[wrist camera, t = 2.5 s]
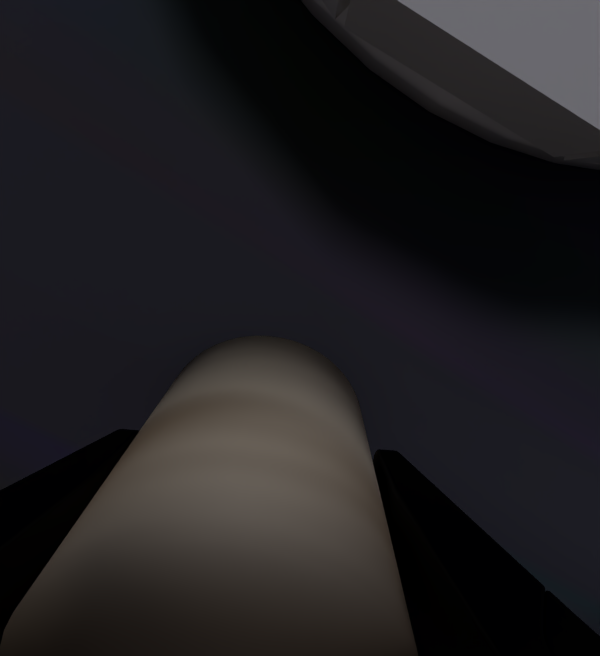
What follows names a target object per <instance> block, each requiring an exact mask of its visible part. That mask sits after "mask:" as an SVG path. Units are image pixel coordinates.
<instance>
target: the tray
mask: <svg viewBox="0 0 600 656" xmlns="http://www.w3.org/2000/svg"><path fill="white" fill-rule="evenodd" d="M301 1H302V3H303V4H304V5H305V6H306V8H307V9H308V10H309V11H310V13H311V14H312V15H313V16H314V17H315V18H316V19H317V20H318V21H319V22H320V23H321V24H322V25H324V26H325V27H326V28H327V29H328V30H329V31H330V32H331V33H332V34H333V35H334V36H335V37H336V38H337V39H338V40H339V41H340V42H341V43H342V44H343V45H344V46H346V47H347V48H348V49H349V50H350V51H351V52H352V53H353V54H354V55H355V56H356V57H357V58H358V59H359V60H360V61H361V62H362V63H363V64H364V65H365V66H366V67H368V68H369V69H370V70H371V71H373V72H374V73H375V74H377V75H378V76H380V77H381V78H382V79H384V80H385V81H387V82H388V83H389V84H391V85H392V86H394V87H395V88H396V89H398V90H399V91H401V92H402V93H403V94H405V95H406V96H408V97H409V98H410V99H412V100H413V101H415V102H416V103H418V104H419V105H420V106H422V107H423V108H425V109H426V110H427V111H429V112H431V113H433V114H435V115H437V116H439V117H441V118H443V119H445V120H447V121H449V122H451V123H453V124H455V125H457V126H459V127H461V128H463V129H465V130H467V131H469V132H471V133H473V134H475V135H477V136H479V137H481V138H482V139H484V140H486V141H488V142H491V143H494V144H497V145H500V146H503V147H506V148H509V149H512V150H515V151H519V152H522V153H525V154H528V155H531V156H534V157H537V158H540V159H543V160H547V161H550V162H553V163H558V164H564V165H570V166H576V167H583V168H589V169H595V170H600V0H301Z"/></svg>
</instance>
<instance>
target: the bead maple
mask: <svg viewBox="0 0 600 656" xmlns="http://www.w3.org/2000/svg"><path fill="white" fill-rule="evenodd" d="M0 656H418V651H417V647H416V643H415V639H414V635H413V630H412V626H411V622H410V618H409V613H408V609H407V605H406V601H405V597H404V592H403V588H402V584H401V580H400V575H399V571H398V567H397V563H396V558H395V554H394V550H393V546H392V542H391V537H390V533H389V529H388V525H387V520H386V516H385V512H384V508H383V503H382V499H381V495H380V491H379V487H378V482H377V478H376V474H375V470H374V465H373V461H372V457H371V453H370V449H369V444H368V440H367V436H366V432H365V427H364V423H363V419H362V415H361V410H360V406H359V402H358V399H357V397H356V394H355V392H354V390H353V388H352V386H351V385H350V383H349V381H348V380H347V378H346V377H345V376H344V374H343V373H342V372H341V371H340V370H339V369H338V368H337V367H336V366H335V365H334V364H333V363H332V362H331V361H330V360H328V359H327V358H326V357H324V356H323V355H322V354H320V353H319V352H317V351H315V350H313V349H312V348H310V347H308V346H305V345H303V344H300V343H298V342H295V341H291V340H288V339H284V338H278V337H271V336H248V337H240V338H236V339H231V340H227V341H225V342H222V343H219V344H217V345H214V346H212V347H211V348H209V349H207V350H205V351H203V352H202V353H200V354H199V355H198V356H196V357H195V358H194V359H193V360H192V361H191V362H189V363H188V364H187V365H186V366H185V367H184V369H183V370H182V371H181V373H180V374H179V375H178V377H177V378H176V379H175V381H174V382H173V384H172V385H171V387H170V388H169V389H168V391H167V392H166V394H165V395H164V397H163V398H162V400H161V401H160V402H159V404H158V405H157V407H156V408H155V410H154V411H153V412H152V414H151V415H150V417H149V418H148V420H147V421H146V422H145V424H144V425H143V427H142V428H141V430H140V431H139V433H138V434H137V435H136V437H135V438H134V440H133V441H132V443H131V444H130V445H129V447H128V448H127V450H126V451H125V453H124V454H123V455H122V457H121V458H120V460H119V461H118V463H117V464H116V466H115V467H114V468H113V470H112V471H111V473H110V474H109V476H108V477H107V478H106V480H105V481H104V483H103V484H102V486H101V487H100V488H99V490H98V491H97V493H96V494H95V496H94V497H93V499H92V500H91V501H90V503H89V504H88V506H87V507H86V509H85V510H84V511H83V513H82V514H81V516H80V517H79V519H78V520H77V521H76V523H75V524H74V526H73V527H72V529H71V530H70V532H69V533H68V534H67V536H66V537H65V539H64V540H63V542H62V543H61V544H60V546H59V547H58V549H57V550H56V552H55V553H54V554H53V556H52V557H51V559H50V560H49V562H48V563H47V564H46V566H45V567H44V569H43V570H42V572H41V573H40V575H39V576H38V577H37V579H36V580H35V582H34V583H33V585H32V586H31V587H30V589H29V590H28V592H27V593H26V595H25V596H24V597H23V599H22V600H21V602H20V603H19V605H18V606H17V608H16V609H15V610H14V612H13V614H12V616H11V618H10V619H9V621H8V623H7V625H6V627H5V629H4V633H3V637H2V640H1V644H0Z"/></svg>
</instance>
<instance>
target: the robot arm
mask: <svg viewBox="0 0 600 656" xmlns="http://www.w3.org/2000/svg"><path fill="white" fill-rule="evenodd" d="M138 433H139V431H138V430H127V429H119V430H117V431H115V432H113V433H111V434H109V435H107V436H105V437H103V438H101V439H99V440H97V441H95V442H93V443H91V444H89V445H87V446H85V447H84V448H82V449H80V450H78V451H76V452H74V453H72V454H70V455H68V456H66V457H64V458H62V459H60V460H58V461H56V462H54V463H53V464H51V465H49V466H47V467H45V468H43V469H41V470H39V471H37V472H35V473H33V474H31V475H29V476H27V477H25V478H23V479H21V480H20V481H18V482H16V483H14V484H12V485H10V486H8V487H6V488H4V489H2V490H0V644H1V640H2V637H3V633H4V629H5V627H6V625H7V623H8V621H9V619H10V618H11V616H12V614H13V612H14V610H15V609H16V608H17V606H18V605H19V603H20V602H21V600H22V599H23V597H24V596H25V595H26V593H27V592H28V590H29V589H30V587H31V586H32V585H33V583H34V582H35V580H36V579H37V577H38V576H39V575H40V573H41V572H42V570H43V569H44V567H45V566H46V564H47V563H48V562H49V560H50V559H51V557H52V556H53V554H54V553H55V552H56V550H57V549H58V547H59V546H60V544H61V543H62V542H63V540H64V539H65V537H66V536H67V534H68V533H69V532H70V530H71V529H72V527H73V526H74V524H75V523H76V521H77V520H78V519H79V517H80V516H81V514H82V513H83V511H84V510H85V509H86V507H87V506H88V504H89V503H90V501H91V500H92V499H93V497H94V496H95V494H96V493H97V491H98V490H99V488H100V487H101V486H102V484H103V483H104V481H105V480H106V478H107V477H108V476H109V474H110V473H111V471H112V470H113V468H114V467H115V466H116V464H117V463H118V461H119V460H120V458H121V457H122V455H123V454H124V453H125V451H126V450H127V448H128V447H129V445H130V444H131V443H132V441H133V440H134V438H135V437H136V435H137V434H138ZM373 465H374V470H375V474H376V478H377V482H378V487H379V491H380V495H381V499H382V503H383V508H384V512H385V516H386V520H387V525H388V529H389V533H390V537H391V542H392V546H393V550H394V554H395V558H396V563H397V567H398V571H399V575H400V580H401V584H402V588H403V592H404V597H405V601H406V605H407V609H408V613H409V618H410V622H411V626H412V630H413V635H414V639H415V643H416V647H417V651H418V656H600V636H599V635H598V634H597V633H595V632H594V631H593V630H592V629H591V628H590V627H589V626H588V625H586V624H585V623H584V622H583V621H582V620H581V619H580V618H579V617H577V616H576V615H575V614H574V613H573V612H572V611H571V610H570V609H569V608H568V607H566V606H565V605H564V604H563V603H562V602H561V601H560V600H559V599H558V598H557V597H556V596H555V595H553V594H552V593H551V592H550V591H546V592H545V587H544V586H543V585H542V584H541V583H540V582H539V581H538V580H537V579H536V578H535V577H534V576H533V575H531V574H530V573H529V572H528V571H527V570H526V569H525V568H524V567H523V566H522V565H521V564H519V563H518V562H517V561H516V560H515V559H514V558H513V557H512V556H511V555H510V554H509V553H508V552H506V551H505V550H504V549H503V548H502V547H501V546H500V545H499V544H498V543H497V542H496V541H495V540H493V539H492V538H491V537H490V536H489V535H488V534H487V533H486V532H485V531H484V530H483V529H481V528H480V527H479V526H478V525H477V524H476V523H475V522H474V521H473V520H472V519H471V518H470V517H468V516H467V515H466V514H465V513H464V512H463V511H462V510H461V509H460V508H459V507H458V506H456V505H455V504H454V503H453V502H452V501H451V500H450V499H449V498H448V497H447V496H446V495H445V494H443V493H442V492H441V491H440V490H439V489H438V488H437V487H436V486H435V485H434V484H433V483H431V482H430V481H429V480H428V479H427V478H426V477H425V476H424V475H423V474H422V473H421V472H420V471H418V470H417V469H416V468H415V467H414V466H413V465H412V464H411V463H410V462H409V461H408V460H406V459H405V458H404V457H403V456H402V455H401V454H400V453H399V452H397V451H394V450H380V449H379V450H377V451H376V452H375V455H374V460H373Z"/></svg>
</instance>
